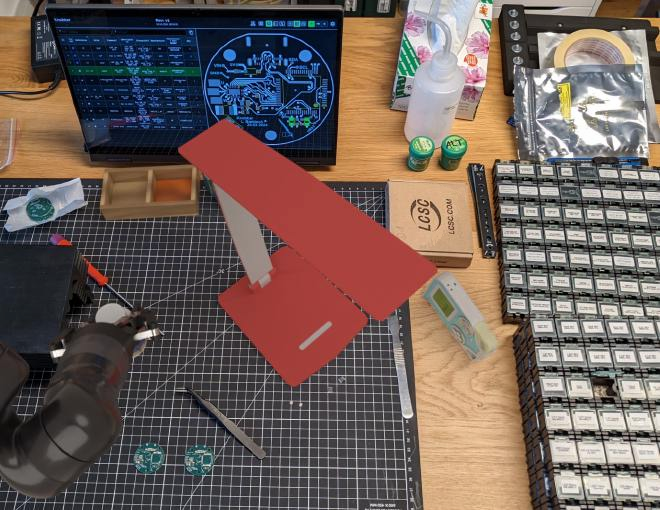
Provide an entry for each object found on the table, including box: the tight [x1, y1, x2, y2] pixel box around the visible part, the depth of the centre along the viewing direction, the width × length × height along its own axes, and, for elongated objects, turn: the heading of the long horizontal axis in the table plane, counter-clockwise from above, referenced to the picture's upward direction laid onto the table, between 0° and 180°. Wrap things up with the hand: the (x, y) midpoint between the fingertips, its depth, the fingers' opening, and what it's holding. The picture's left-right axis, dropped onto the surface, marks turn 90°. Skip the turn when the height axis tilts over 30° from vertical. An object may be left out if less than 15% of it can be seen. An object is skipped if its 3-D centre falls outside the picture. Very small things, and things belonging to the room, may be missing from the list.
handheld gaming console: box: [420, 270, 499, 364], centre depth 103 cm, size 11×3×15 cm
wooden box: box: [99, 164, 201, 221], centre depth 118 cm, size 9×17×4 cm, turn 94°
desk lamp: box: [177, 118, 439, 388], centre depth 89 cm, size 18×38×40 cm, turn 43°
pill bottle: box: [95, 302, 148, 359], centre depth 88 cm, size 5×5×10 cm
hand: (116, 315), depth 88 cm, fingers closed on pill bottle, 5 cm apart
